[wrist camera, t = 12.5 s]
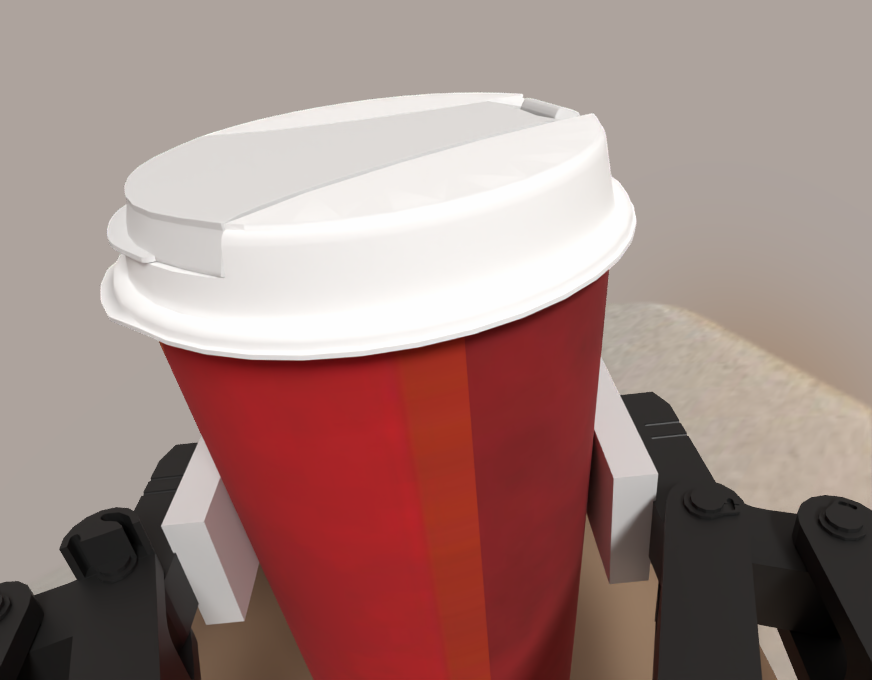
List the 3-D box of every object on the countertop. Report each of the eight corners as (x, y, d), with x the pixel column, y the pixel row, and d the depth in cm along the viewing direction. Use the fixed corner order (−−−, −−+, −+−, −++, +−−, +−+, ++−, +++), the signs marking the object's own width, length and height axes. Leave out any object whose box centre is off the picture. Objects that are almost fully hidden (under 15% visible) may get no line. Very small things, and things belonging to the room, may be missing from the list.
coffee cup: (520, 540, 22) (492, 69, 14) (680, 786, 15) (787, 135, 8) (276, 633, 20) (92, 139, 12) (333, 967, 13) (-3, 319, 5)
